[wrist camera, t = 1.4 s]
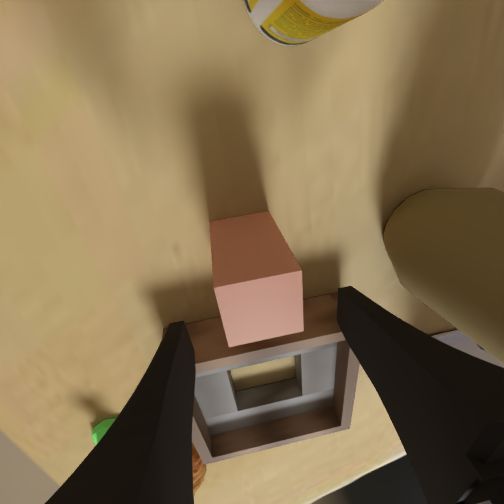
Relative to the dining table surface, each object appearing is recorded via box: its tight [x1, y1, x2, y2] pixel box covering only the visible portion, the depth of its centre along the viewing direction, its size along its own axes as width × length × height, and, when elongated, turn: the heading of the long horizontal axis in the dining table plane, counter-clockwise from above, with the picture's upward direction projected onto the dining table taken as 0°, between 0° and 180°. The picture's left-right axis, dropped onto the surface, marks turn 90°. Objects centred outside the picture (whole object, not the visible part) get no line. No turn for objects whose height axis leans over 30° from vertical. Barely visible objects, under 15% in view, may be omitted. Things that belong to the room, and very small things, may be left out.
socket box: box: [162, 292, 359, 465], centre depth 24 cm, size 15×15×4 cm
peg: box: [210, 211, 304, 347], centre depth 16 cm, size 4×4×7 cm
